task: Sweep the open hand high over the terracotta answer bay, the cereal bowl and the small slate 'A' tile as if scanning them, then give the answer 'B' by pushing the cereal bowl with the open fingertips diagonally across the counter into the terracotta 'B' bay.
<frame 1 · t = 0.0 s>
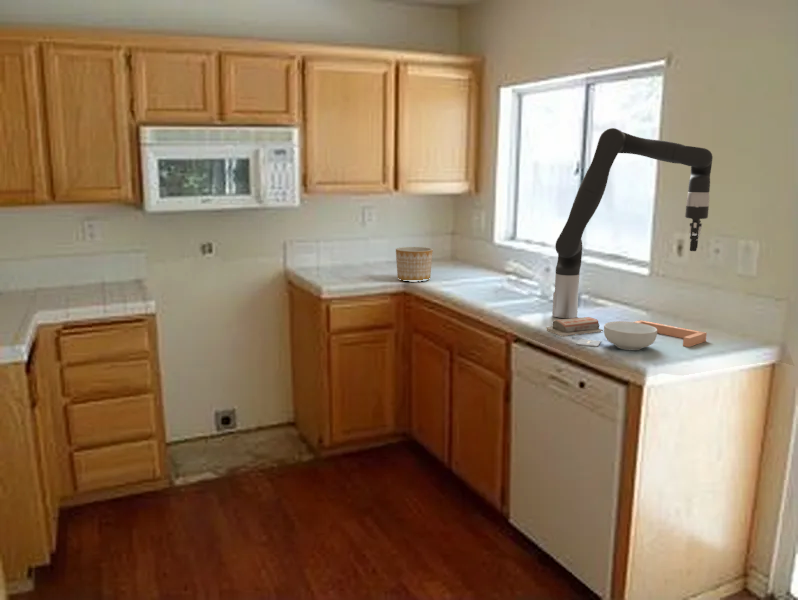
hand: (693, 249, 247), 29 cm above the counter, fingers open, 8 cm apart
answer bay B: (654, 339, 236), on the counter
packaged product: (574, 332, 248), on the counter
cereal bowl: (629, 347, 226), on the counter
planter: (413, 280, 356), on the counter
tile A: (588, 343, 230), on the counter
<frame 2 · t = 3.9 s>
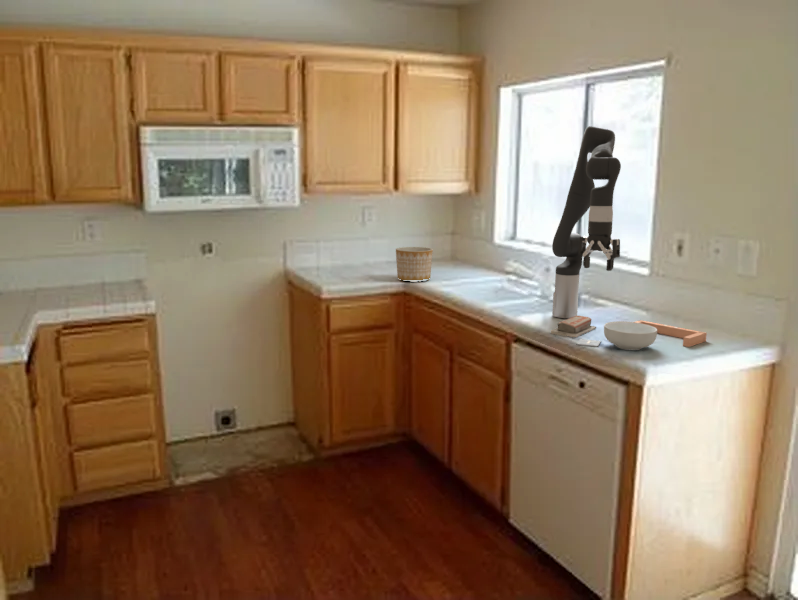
hand: (597, 269, 224), 26 cm above the counter, fingers open, 8 cm apart
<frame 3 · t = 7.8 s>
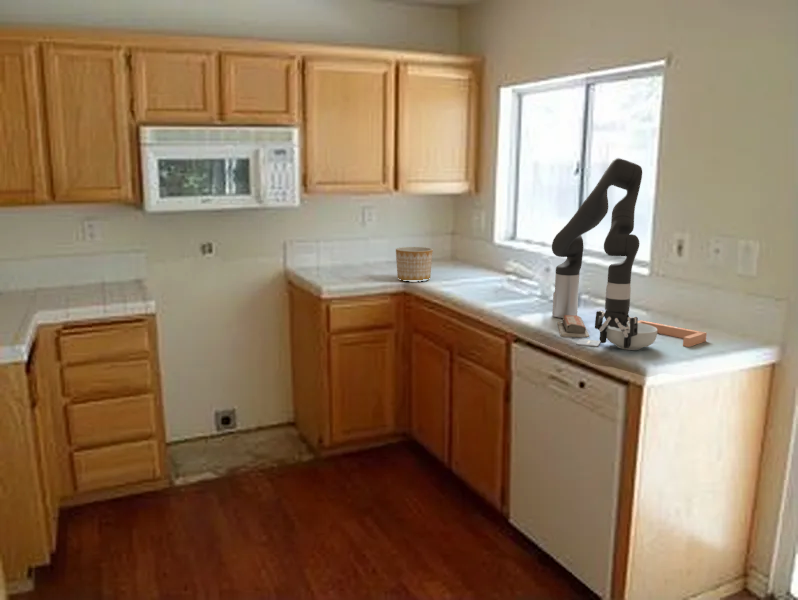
hand: (614, 345, 220), 2 cm above the counter, fingers open, 8 cm apart
cereal bowl: (629, 347, 226), on the counter, touching gripper
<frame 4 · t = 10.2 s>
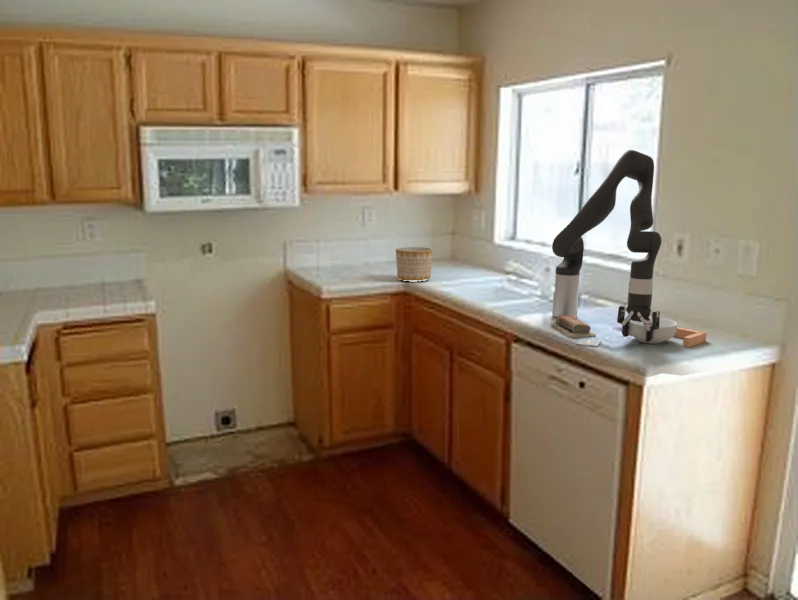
hand: (636, 338, 228), 2 cm above the counter
cereal bowl: (649, 341, 234), on the counter, touching gripper
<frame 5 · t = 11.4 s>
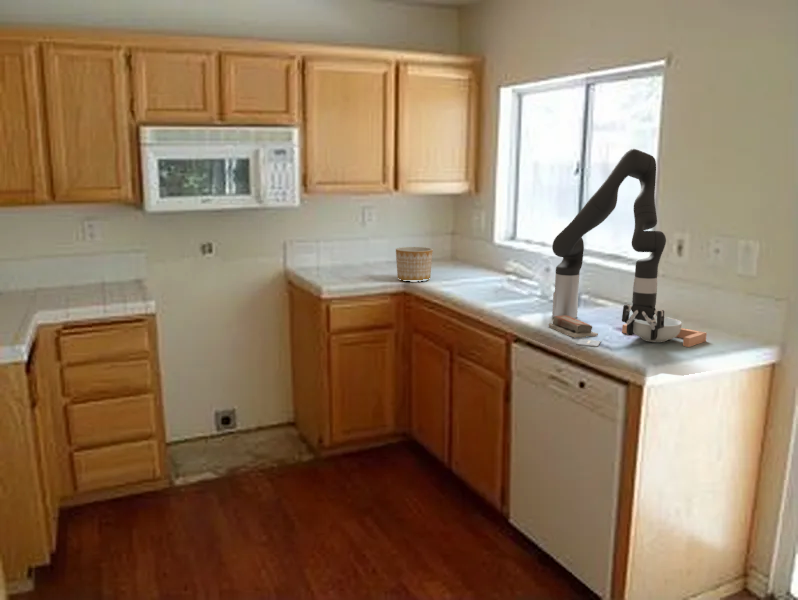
hand: (641, 337, 230), 2 cm above the counter
cereal bowl: (654, 340, 235), on the counter, touching gripper
when the fingers open (2 cm above the counter, at t = 11.8 s): cereal bowl stays where it is, on the counter.
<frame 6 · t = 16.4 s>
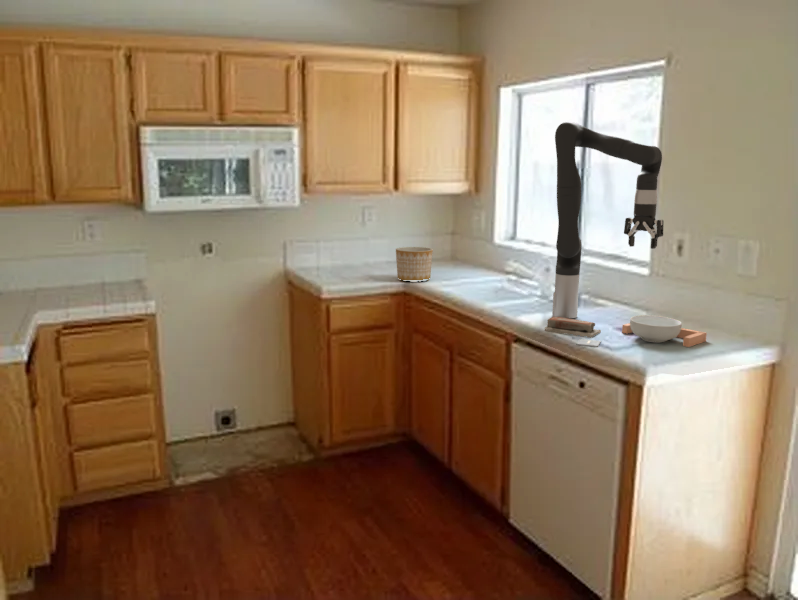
hand: (642, 247, 247), 30 cm above the counter, fingers open, 8 cm apart
cereal bowl: (654, 340, 235), on the counter
at the end: cereal bowl 0.4 cm from the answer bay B (horizontally); cereal bowl tilted 0°; cereal bowl moved 15.7 cm from its start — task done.
